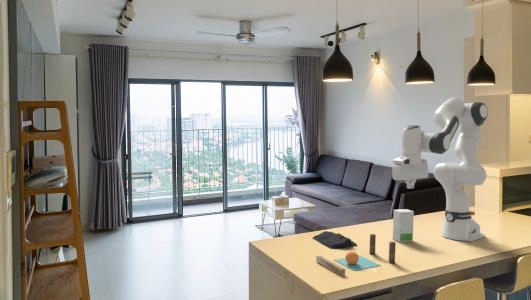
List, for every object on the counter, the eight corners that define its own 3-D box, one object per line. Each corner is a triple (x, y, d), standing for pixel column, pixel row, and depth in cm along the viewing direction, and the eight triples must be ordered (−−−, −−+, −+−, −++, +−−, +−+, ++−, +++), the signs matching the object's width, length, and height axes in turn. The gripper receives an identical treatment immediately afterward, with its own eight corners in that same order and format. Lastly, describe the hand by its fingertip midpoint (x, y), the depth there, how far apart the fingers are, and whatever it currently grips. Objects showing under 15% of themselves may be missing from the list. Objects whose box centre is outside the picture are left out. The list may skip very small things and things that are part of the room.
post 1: (372, 252, 195) (373, 233, 194) (376, 254, 193) (376, 235, 192) (368, 253, 194) (368, 234, 193) (371, 255, 192) (372, 235, 191)
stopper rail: (320, 260, 184) (320, 255, 184) (345, 275, 168) (345, 269, 168) (316, 261, 183) (316, 256, 183) (341, 275, 167) (341, 269, 167)
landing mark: (359, 255, 191) (359, 255, 191) (380, 265, 178) (380, 265, 178) (334, 260, 185) (334, 259, 185) (354, 270, 172) (354, 270, 172)
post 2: (391, 261, 184) (392, 241, 183) (396, 263, 181) (396, 242, 181) (387, 262, 183) (388, 241, 182) (391, 263, 180) (392, 243, 179)
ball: (346, 265, 182) (355, 256, 184) (354, 269, 177) (363, 260, 179) (340, 255, 180) (349, 247, 182) (348, 259, 175) (358, 250, 177)
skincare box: (399, 242, 210) (399, 212, 209) (391, 239, 216) (392, 209, 215) (413, 241, 212) (414, 211, 211) (405, 237, 219) (406, 208, 217)
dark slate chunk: (334, 235, 224) (334, 226, 224) (359, 247, 204) (359, 238, 204) (309, 238, 218) (309, 230, 218) (332, 251, 198) (333, 241, 198)
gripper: (422, 157, 206) (421, 185, 207) (390, 160, 197) (389, 188, 199) (432, 159, 201) (431, 187, 202) (399, 161, 192) (399, 191, 193)
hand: (410, 188), depth 200 cm, fingers closed
